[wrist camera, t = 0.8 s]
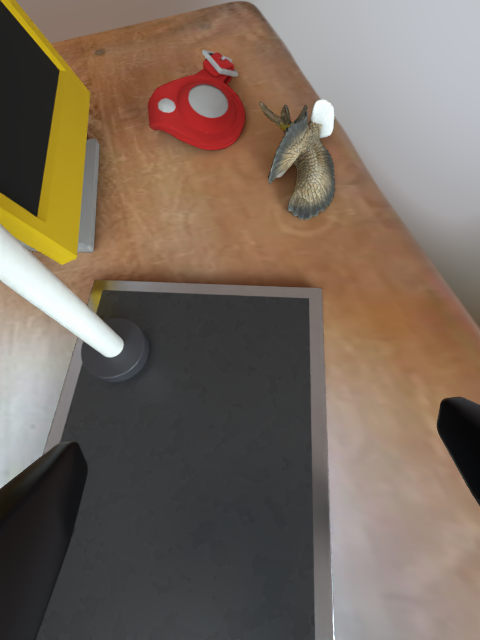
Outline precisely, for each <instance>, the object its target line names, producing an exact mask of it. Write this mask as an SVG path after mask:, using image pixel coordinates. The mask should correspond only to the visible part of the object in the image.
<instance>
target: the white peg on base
mask: <svg viewBox="0 0 480 640" xmlns="http://www.w3.org/2000/svg"><path fill="white" fill-rule="evenodd" d="M0 281H2V282H3V283H4V284H6V285H7V286H8V287H10V288H11V289H13V290H14V291H15V292H17V293H18V294H19V295H21V296H22V297H24V298H25V299H26V300H28V301H29V302H31V303H32V304H33V305H35V306H36V307H37V308H39V309H40V310H42V311H43V312H44V313H46V314H47V315H48V316H50V317H51V318H53V319H54V320H55V321H57V322H58V323H60V324H61V325H62V326H64V327H65V328H66V329H68V330H69V331H71V332H72V333H73V334H75V335H76V336H78V337H79V338H80V339H82V340H83V344H82V348H81V359H82V362H83V365H84V367H85V368H86V370H87V371H88V372H89V373H91V374H92V375H94V376H96V377H97V378H99V379H101V380H103V381H107V382H121V381H124V380H127V379H129V378H131V377H133V376H134V375H135V374H137V373H138V372H139V371H140V370H141V369H142V367H143V366H144V364H145V363H146V361H147V358H148V355H149V341H148V338H147V336H146V334H145V333H144V332H143V331H142V329H141V328H140V327H139V326H138V325H137V324H136V323H135V322H133V321H131V320H129V319H125V318H111V319H107V320H105V321H103V320H102V319H101V318H100V317H99V316H97V315H96V314H95V313H94V312H93V311H92V310H91V309H90V308H89V307H88V306H87V305H86V304H85V303H84V302H83V301H82V300H81V299H79V298H78V297H77V296H76V295H75V294H74V293H73V292H72V291H71V290H70V289H69V288H68V287H67V286H66V285H65V284H64V283H63V282H61V281H60V280H59V279H58V278H57V277H56V276H55V275H54V274H53V273H52V272H51V271H50V270H49V269H48V268H47V267H46V266H45V265H44V264H42V263H41V262H40V261H39V260H38V259H37V258H36V257H35V256H34V255H33V254H32V253H31V252H30V251H29V250H28V249H27V248H26V247H24V246H23V245H22V244H21V243H20V242H19V241H18V240H17V239H16V238H15V237H14V236H13V235H12V234H11V233H10V232H9V231H8V230H6V229H5V228H4V227H3V226H2V225H1V224H0Z"/></svg>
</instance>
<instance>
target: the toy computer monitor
mask: <svg viewBox="0 0 480 640" xmlns="http://www.w3.org/2000/svg"><path fill="white" fill-rule="evenodd" d="M89 103H90V92H89V90H88V89H87V88H86V87H85V86H84V84H83V83H82V82H81V81H80V79H79V78H78V77H77V76H76V74H75V73H74V72H73V71H72V70H71V68H70V67H69V66H68V65H67V63H66V62H65V61H64V60H63V58H62V57H61V56H60V55H59V53H58V52H57V51H56V50H55V49H54V47H53V46H52V45H51V44H50V42H49V41H48V40H47V39H46V38H45V36H44V35H43V34H42V33H41V31H40V30H39V29H38V28H37V26H36V25H35V24H34V23H33V21H32V20H31V19H30V18H29V17H28V15H27V14H26V13H25V12H24V10H23V9H22V8H21V7H20V5H19V4H18V3H17V2H16V1H15V0H0V224H1V225H2V226H3V227H4V228H5V229H6V230H8V231H9V232H10V233H11V234H12V235H13V236H14V237H15V238H16V239H17V240H18V241H19V242H20V243H21V244H22V245H23V246H24V247H26V248H27V249H28V250H29V251H39V252H41V253H43V254H44V255H46V256H48V257H49V258H51V259H53V260H55V261H56V262H58V263H60V264H62V265H63V264H65V263H67V262H69V261H71V260H74V259H76V258H77V252H93V251H94V237H95V219H96V201H97V184H98V166H99V148H100V146H99V144H98V141H97V139H95V138H92V139H88V140H87V128H88V116H89Z"/></svg>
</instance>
